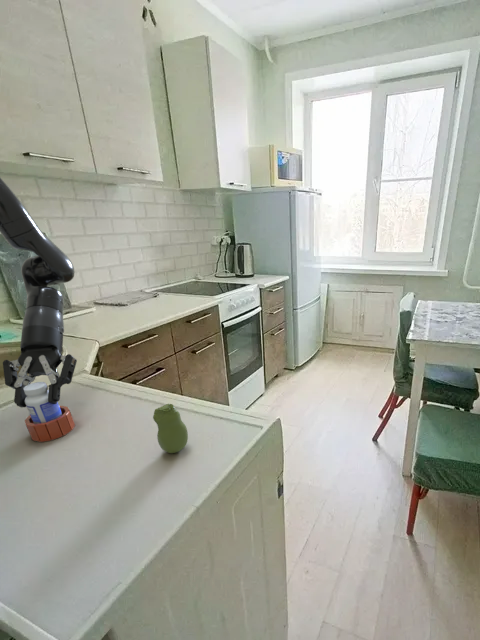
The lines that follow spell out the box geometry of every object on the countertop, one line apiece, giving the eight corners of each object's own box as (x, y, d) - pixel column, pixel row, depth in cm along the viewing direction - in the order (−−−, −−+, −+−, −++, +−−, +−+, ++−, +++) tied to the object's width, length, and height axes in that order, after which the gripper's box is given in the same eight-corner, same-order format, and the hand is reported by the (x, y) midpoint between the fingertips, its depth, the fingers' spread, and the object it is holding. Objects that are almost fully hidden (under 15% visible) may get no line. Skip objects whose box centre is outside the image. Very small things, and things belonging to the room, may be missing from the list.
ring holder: (22, 438, 76) (15, 422, 74) (56, 418, 82) (50, 403, 81) (50, 444, 73) (44, 428, 71) (83, 423, 80) (77, 408, 78)
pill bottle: (67, 416, 80) (53, 378, 76) (62, 428, 76) (46, 388, 71) (40, 421, 79) (24, 382, 75) (33, 434, 74) (15, 393, 70)
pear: (170, 462, 66) (158, 416, 61) (155, 451, 69) (144, 407, 64) (195, 448, 69) (186, 404, 65) (180, 438, 72) (171, 395, 68)
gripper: (-4, 326, 74) (-15, 403, 68) (69, 320, 76) (64, 395, 70) (19, 342, 81) (11, 413, 75) (85, 336, 83) (82, 405, 77)
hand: (37, 404), depth 73 cm, fingers closed on pill bottle, 5 cm apart
